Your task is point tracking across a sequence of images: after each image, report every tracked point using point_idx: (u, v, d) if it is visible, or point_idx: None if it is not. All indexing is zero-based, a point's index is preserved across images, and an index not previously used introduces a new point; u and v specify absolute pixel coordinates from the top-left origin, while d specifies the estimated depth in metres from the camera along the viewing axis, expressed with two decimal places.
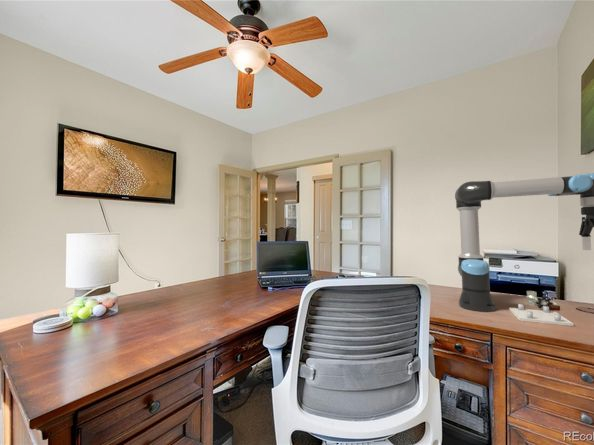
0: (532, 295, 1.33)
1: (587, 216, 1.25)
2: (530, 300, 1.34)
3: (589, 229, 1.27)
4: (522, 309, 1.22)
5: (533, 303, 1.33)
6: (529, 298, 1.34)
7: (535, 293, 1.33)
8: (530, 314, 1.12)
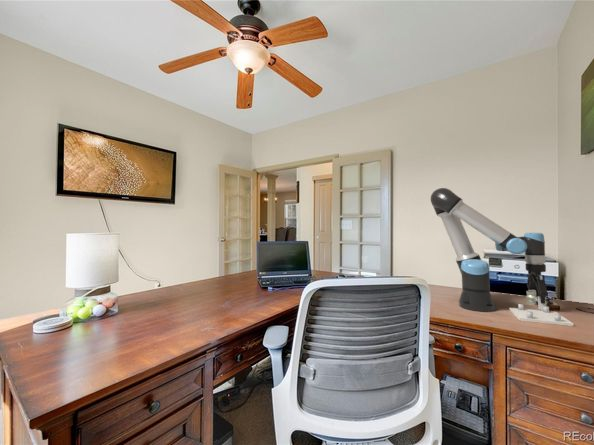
0: (532, 295, 1.34)
1: (531, 271, 1.33)
2: (530, 300, 1.34)
3: (534, 283, 1.35)
4: (522, 309, 1.22)
5: (533, 303, 1.33)
6: (529, 298, 1.34)
7: (535, 293, 1.34)
8: (530, 314, 1.12)
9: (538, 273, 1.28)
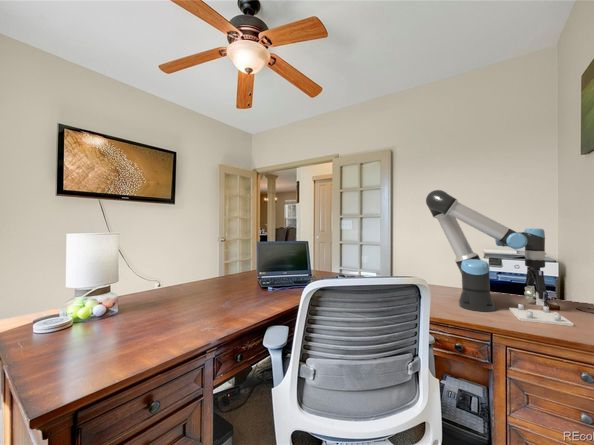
0: (530, 291, 1.34)
1: (530, 267, 1.33)
2: (528, 296, 1.34)
3: (532, 279, 1.35)
4: (522, 309, 1.22)
5: (531, 299, 1.34)
6: (527, 294, 1.35)
7: (533, 289, 1.34)
8: (530, 314, 1.12)
9: (537, 269, 1.28)
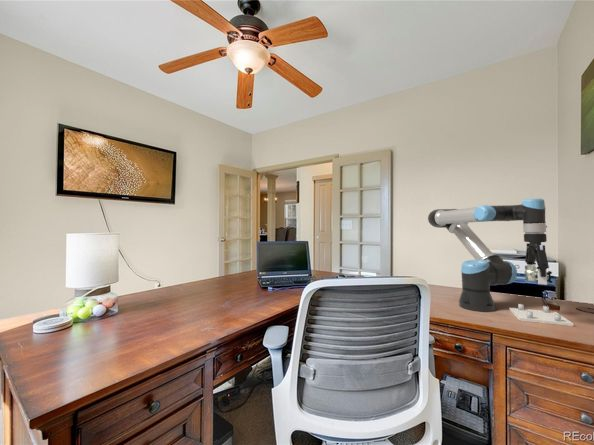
0: (531, 269, 1.19)
1: (530, 243, 1.19)
2: (529, 275, 1.20)
3: (533, 257, 1.20)
4: (522, 309, 1.22)
5: (532, 278, 1.19)
6: (527, 273, 1.20)
7: (534, 267, 1.19)
8: (530, 314, 1.12)
9: (538, 243, 1.13)
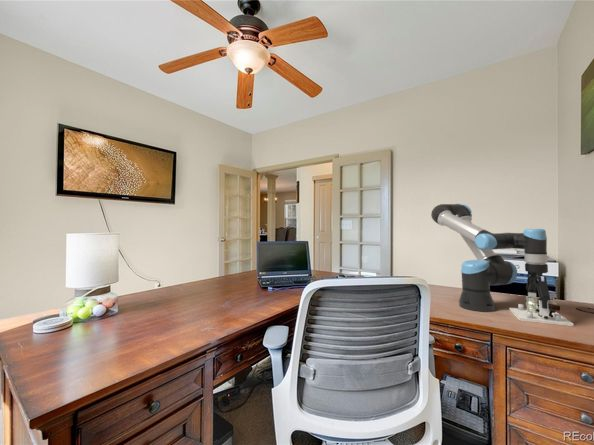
0: (532, 301, 1.19)
1: (531, 272, 1.19)
2: (530, 307, 1.20)
3: (534, 286, 1.20)
4: (522, 309, 1.22)
5: (533, 310, 1.19)
6: (529, 305, 1.20)
7: (535, 299, 1.19)
8: (530, 314, 1.12)
9: (539, 274, 1.13)
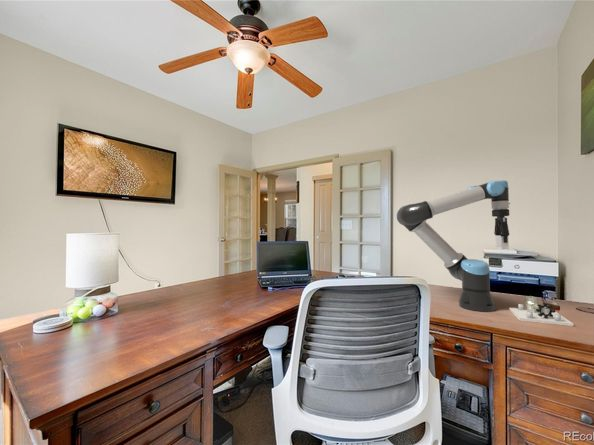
0: (532, 301, 1.19)
1: (497, 217, 1.45)
2: (529, 307, 1.20)
3: (499, 229, 1.46)
4: (522, 309, 1.22)
5: (533, 310, 1.19)
6: (528, 304, 1.20)
7: (535, 299, 1.19)
8: (530, 314, 1.12)
9: (502, 217, 1.39)
